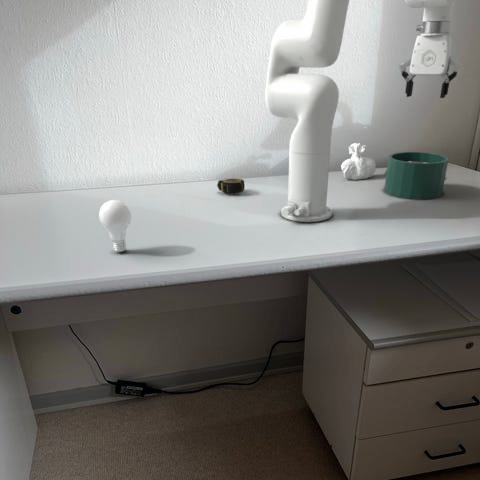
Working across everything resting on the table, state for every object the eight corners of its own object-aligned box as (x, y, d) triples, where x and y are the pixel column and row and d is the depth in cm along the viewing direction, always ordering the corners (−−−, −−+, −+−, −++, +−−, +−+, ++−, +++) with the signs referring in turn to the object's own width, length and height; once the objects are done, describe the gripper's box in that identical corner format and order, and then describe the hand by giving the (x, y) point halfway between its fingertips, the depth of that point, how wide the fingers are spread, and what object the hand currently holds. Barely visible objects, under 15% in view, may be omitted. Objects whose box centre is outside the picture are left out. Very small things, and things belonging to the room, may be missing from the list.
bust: (371, 182, 159) (362, 150, 160) (384, 171, 152) (374, 137, 153) (338, 186, 156) (330, 153, 157) (349, 175, 148) (340, 140, 150)
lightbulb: (137, 246, 107) (131, 195, 102) (133, 257, 102) (126, 204, 96) (108, 246, 107) (100, 196, 102) (102, 258, 102) (93, 205, 96)
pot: (434, 202, 131) (441, 166, 127) (376, 194, 139) (380, 159, 134) (448, 189, 143) (454, 154, 138) (393, 182, 150) (398, 149, 146)
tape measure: (238, 189, 147) (238, 176, 145) (248, 194, 141) (248, 181, 139) (217, 191, 144) (216, 178, 143) (226, 197, 139) (225, 184, 137)
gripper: (400, 30, 138) (392, 97, 147) (466, 28, 130) (453, 99, 138) (408, 30, 144) (399, 94, 152) (471, 28, 135) (459, 96, 144)
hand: (425, 97), depth 145 cm, fingers open, 9 cm apart
